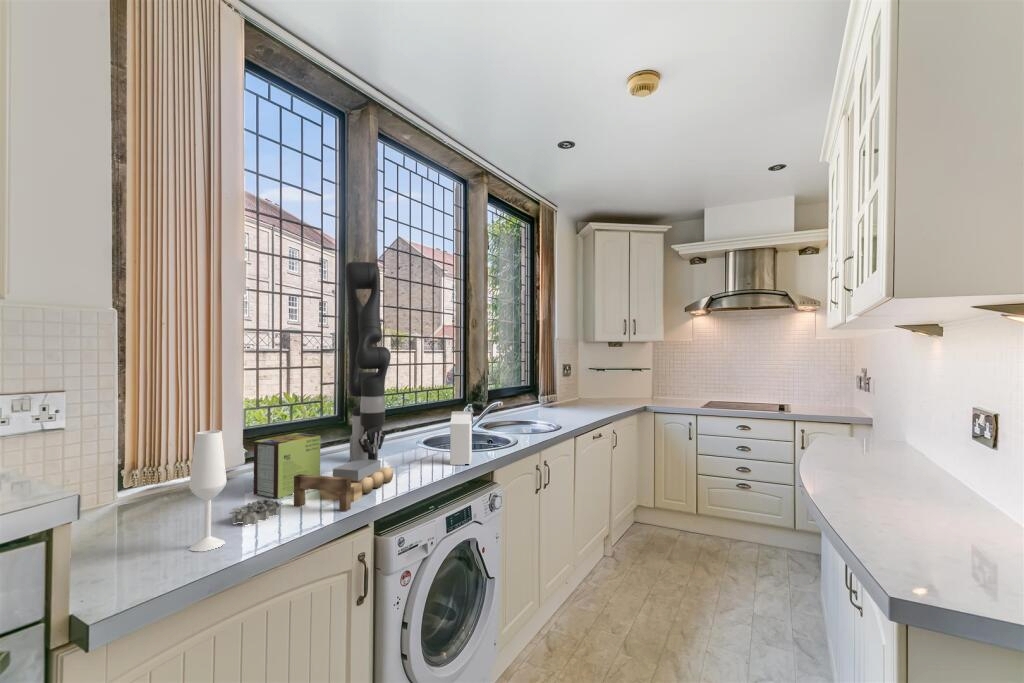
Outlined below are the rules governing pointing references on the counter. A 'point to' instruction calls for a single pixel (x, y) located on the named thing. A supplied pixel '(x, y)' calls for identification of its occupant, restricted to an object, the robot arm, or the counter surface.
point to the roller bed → (375, 479)
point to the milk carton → (460, 438)
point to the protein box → (284, 462)
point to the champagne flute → (208, 480)
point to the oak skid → (334, 495)
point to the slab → (357, 469)
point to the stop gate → (323, 488)
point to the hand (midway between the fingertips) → (372, 464)
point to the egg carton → (255, 511)
